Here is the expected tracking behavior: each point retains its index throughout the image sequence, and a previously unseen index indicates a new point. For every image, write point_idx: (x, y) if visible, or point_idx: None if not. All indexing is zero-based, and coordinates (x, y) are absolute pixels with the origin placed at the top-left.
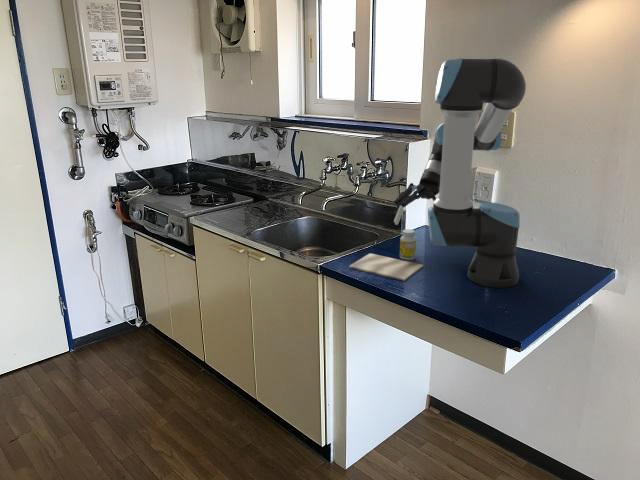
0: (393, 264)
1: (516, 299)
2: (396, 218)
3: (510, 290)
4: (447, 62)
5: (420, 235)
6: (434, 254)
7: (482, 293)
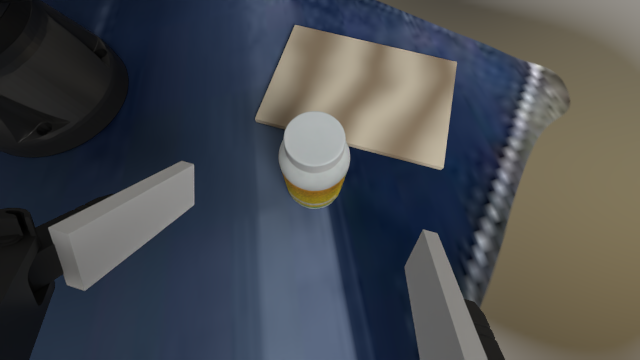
0: (342, 99)
1: None
2: (429, 244)
3: None
4: None
5: None
6: (220, 240)
7: (112, 14)
